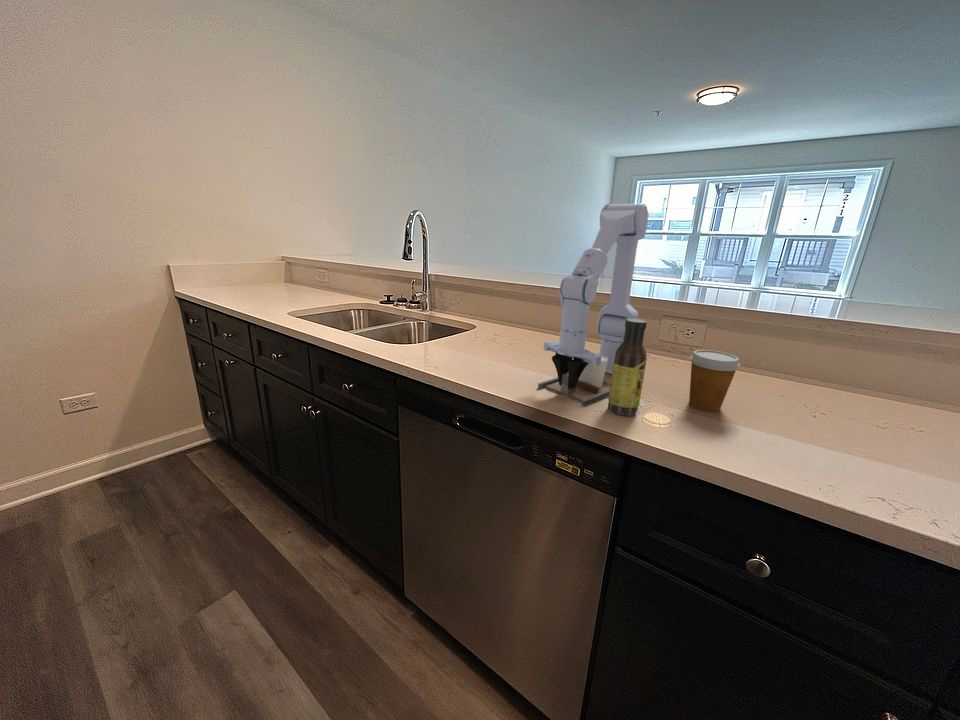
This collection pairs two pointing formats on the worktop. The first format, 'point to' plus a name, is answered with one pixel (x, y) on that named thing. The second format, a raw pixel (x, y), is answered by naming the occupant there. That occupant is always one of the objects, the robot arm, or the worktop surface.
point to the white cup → (594, 373)
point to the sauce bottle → (628, 370)
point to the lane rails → (583, 402)
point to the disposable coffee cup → (711, 378)
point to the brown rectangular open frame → (577, 388)
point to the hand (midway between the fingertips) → (567, 386)
